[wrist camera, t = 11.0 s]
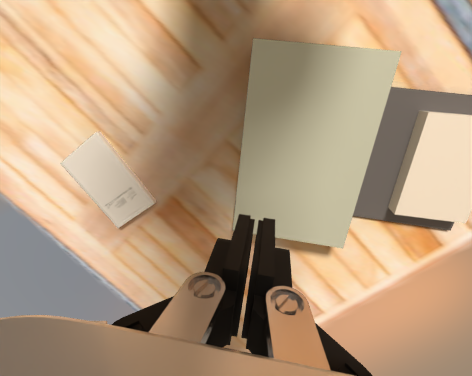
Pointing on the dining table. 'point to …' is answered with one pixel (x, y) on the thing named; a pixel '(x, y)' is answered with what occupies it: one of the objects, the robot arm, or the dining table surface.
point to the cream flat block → (436, 169)
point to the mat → (401, 150)
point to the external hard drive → (108, 180)
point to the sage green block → (310, 135)
